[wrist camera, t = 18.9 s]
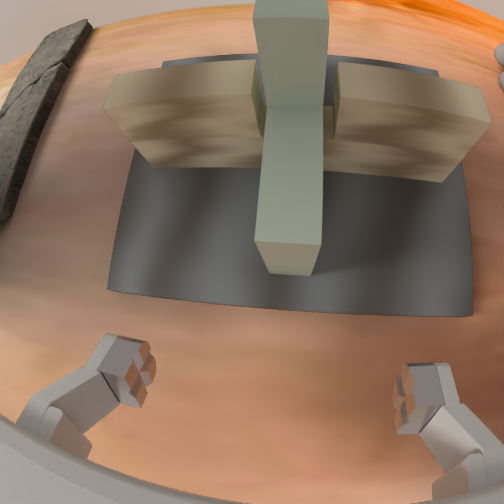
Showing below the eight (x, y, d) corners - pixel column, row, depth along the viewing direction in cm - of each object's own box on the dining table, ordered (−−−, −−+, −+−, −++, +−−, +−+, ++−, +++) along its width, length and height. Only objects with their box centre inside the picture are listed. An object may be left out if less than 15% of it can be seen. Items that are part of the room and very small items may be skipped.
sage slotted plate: (310, 276, 19) (338, 188, 7) (269, 273, 19) (226, 182, 7) (314, 70, 22) (315, -70, 10) (284, 68, 22) (269, -70, 10)
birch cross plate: (117, 292, 22) (30, 270, 13) (168, 72, 26) (132, 1, 17) (462, 316, 18) (546, 306, 9) (432, 81, 22) (463, 8, 14)
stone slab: (-45, 228, 24) (37, 29, 30) (-26, 234, 28) (48, 41, 33) (-1, 230, 23) (91, 7, 28) (21, 237, 26) (101, 22, 31)
